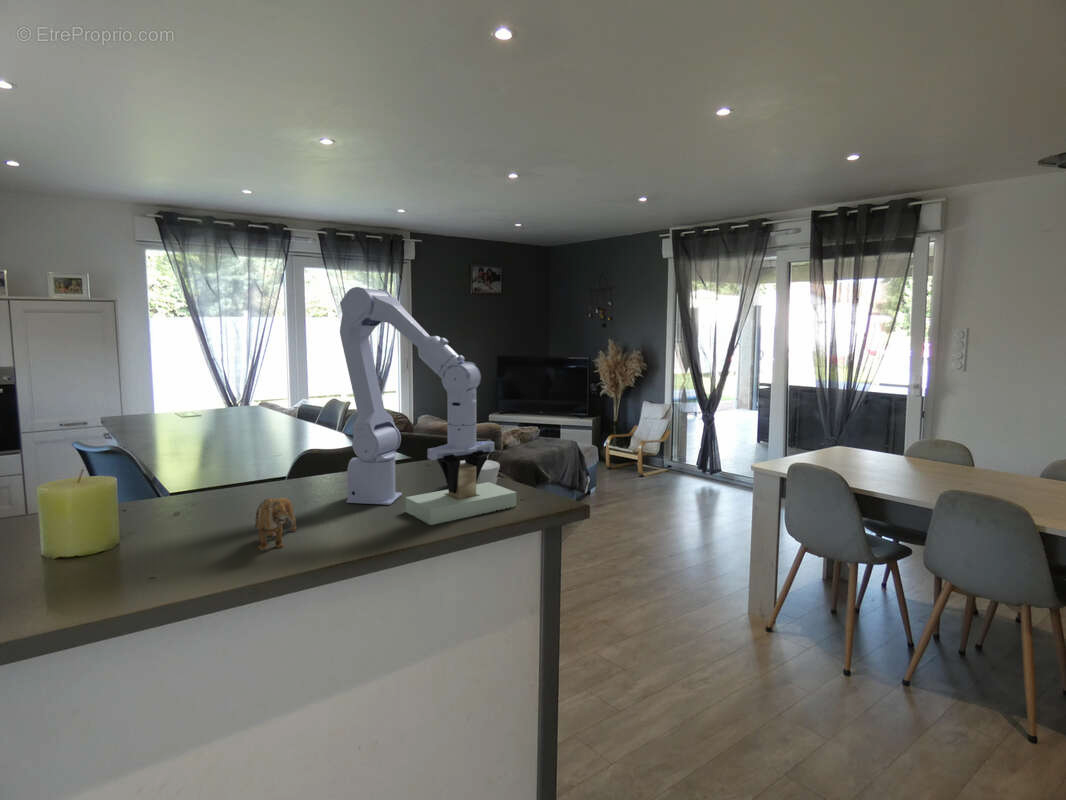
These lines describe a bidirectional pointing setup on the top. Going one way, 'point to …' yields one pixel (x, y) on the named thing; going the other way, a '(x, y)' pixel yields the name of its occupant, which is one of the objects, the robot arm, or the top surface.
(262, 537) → the orange animal figure
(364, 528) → the top surface
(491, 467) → the ramekin
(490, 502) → the socket block
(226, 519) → the top surface
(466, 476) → the peg
